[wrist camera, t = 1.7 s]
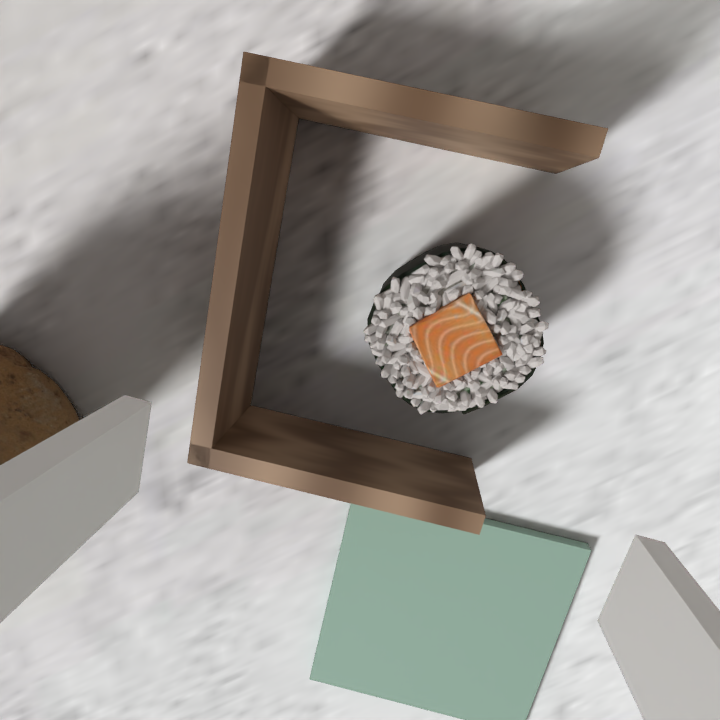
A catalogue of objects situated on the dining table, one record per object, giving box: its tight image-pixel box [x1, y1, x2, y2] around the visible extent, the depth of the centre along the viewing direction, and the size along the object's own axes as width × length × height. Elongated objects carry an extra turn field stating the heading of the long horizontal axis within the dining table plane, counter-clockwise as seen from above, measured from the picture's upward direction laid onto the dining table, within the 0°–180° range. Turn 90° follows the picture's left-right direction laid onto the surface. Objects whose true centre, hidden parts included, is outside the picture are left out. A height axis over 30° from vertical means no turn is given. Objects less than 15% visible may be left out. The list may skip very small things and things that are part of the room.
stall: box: [187, 52, 608, 535], centre depth 29 cm, size 16×20×7 cm
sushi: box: [363, 243, 549, 415], centre depth 28 cm, size 8×8×8 cm
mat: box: [310, 504, 591, 720], centre depth 37 cm, size 16×16×1 cm
